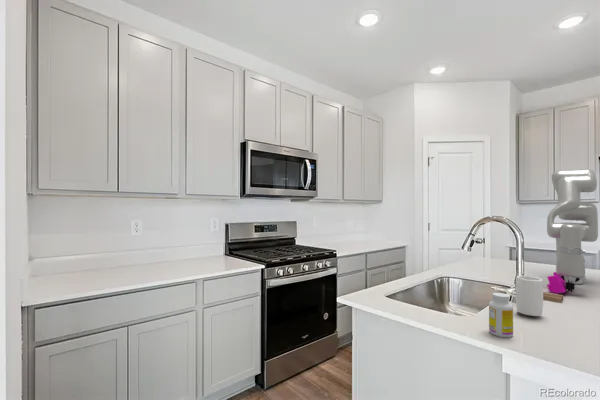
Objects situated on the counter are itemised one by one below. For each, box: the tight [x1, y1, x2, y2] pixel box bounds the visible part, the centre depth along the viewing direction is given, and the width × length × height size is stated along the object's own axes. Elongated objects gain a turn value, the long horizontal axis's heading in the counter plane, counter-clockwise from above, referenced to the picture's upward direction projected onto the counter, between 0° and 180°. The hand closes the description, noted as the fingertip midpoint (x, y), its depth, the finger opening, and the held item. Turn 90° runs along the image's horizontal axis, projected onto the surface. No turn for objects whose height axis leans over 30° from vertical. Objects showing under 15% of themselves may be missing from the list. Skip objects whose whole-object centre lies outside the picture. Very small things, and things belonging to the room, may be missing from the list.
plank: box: [543, 291, 564, 304], centre depth 144 cm, size 7×18×2 cm, turn 44°
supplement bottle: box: [488, 292, 514, 339], centre depth 104 cm, size 7×7×13 cm
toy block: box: [546, 271, 568, 294], centre depth 151 cm, size 15×6×8 cm, turn 131°
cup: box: [515, 275, 544, 317], centre depth 120 cm, size 8×8×14 cm
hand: (570, 290), depth 146 cm, fingers closed
